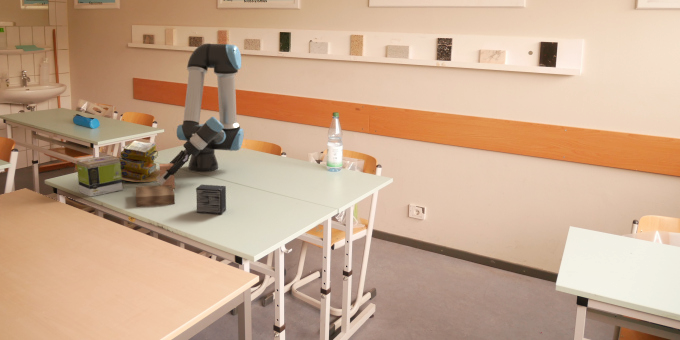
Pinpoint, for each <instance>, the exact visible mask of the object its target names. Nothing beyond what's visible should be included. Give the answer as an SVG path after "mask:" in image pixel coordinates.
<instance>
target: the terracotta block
mask: <svg viewBox="0 0 680 340" xmlns="http://www.w3.org/2000/svg"><path fill="white" fill-rule="evenodd" d="M173 165H174V164H173V163H170V162H169V163H159V170H160V177H161V176H162V175H163V174H164V173H165V172H166V170H169V169H170V168H171V167H172V166H173ZM175 184H176V183H175V174H174V175H171V176H170V177H169V178H168V179H167V180H166V181H165V182H164V183H163V184H162V185H172V187H173V190H175V189H176V187H175ZM162 185H160V184H159V186H162Z"/></svg>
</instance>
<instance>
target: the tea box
mask: <svg viewBox="0 0 680 340" xmlns="http://www.w3.org/2000/svg"><path fill="white" fill-rule="evenodd" d="M76 169H77V180H78V188H79V192H80V193H81V194H83V195H85V196H88V197H95V196H96V197H97V196H100V195H105V194H110V193H113V192H118V191H123V180H122V176H121V165H120V159H119V158H118V157H114V156H111V155H110V154H109V155H101V156H97V157H92V158H91V157H90V158H86V159H79V160H76Z"/></svg>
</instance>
